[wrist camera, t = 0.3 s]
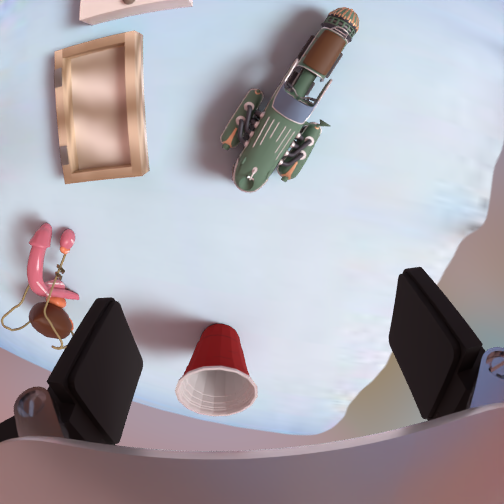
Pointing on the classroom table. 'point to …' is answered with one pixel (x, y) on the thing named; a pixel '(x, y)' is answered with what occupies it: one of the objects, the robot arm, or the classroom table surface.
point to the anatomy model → (48, 288)
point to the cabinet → (101, 108)
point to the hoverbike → (287, 110)
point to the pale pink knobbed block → (124, 8)
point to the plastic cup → (217, 375)
